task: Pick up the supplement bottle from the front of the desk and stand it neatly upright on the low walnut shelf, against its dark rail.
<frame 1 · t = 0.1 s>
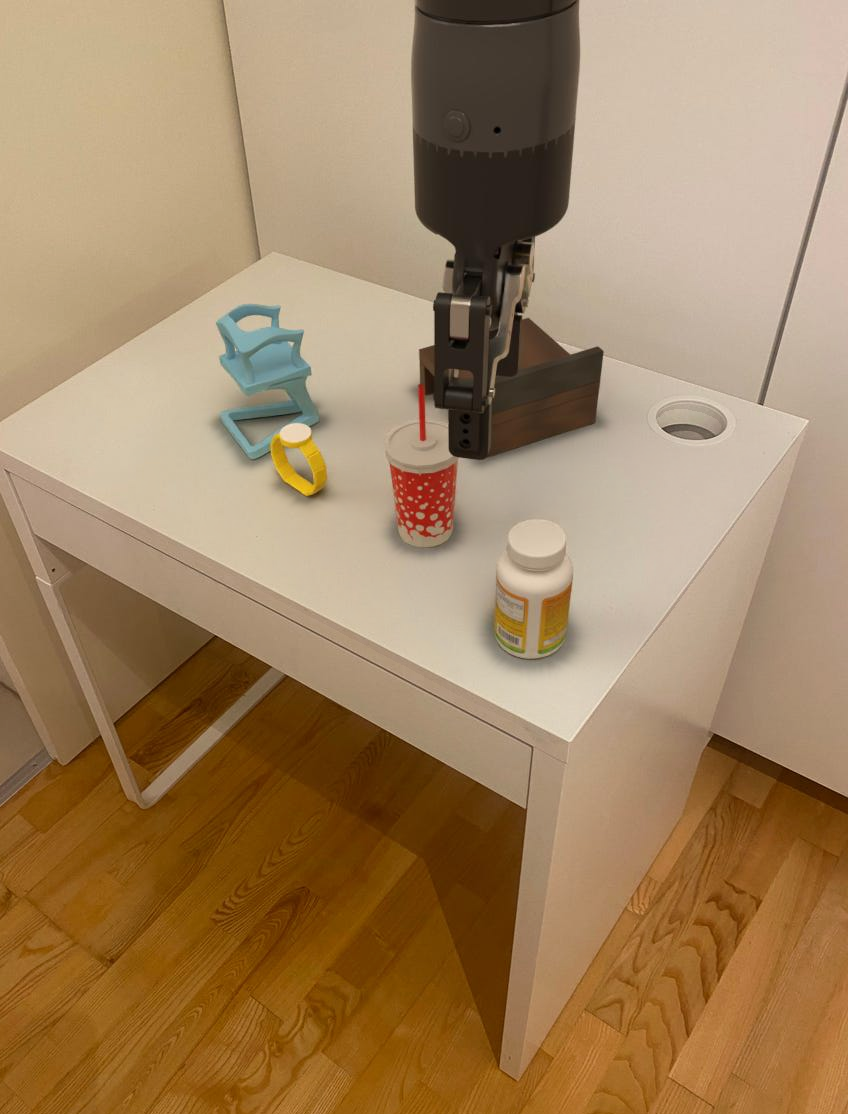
hand: (485, 411, 57), 22 cm above the table, tool pointing down, fingers open, 8 cm apart
watch: (302, 488, 89), on the table
beverage cup: (425, 531, 84), on the table
chair: (275, 428, 95), on the table
supplement bottle: (529, 636, 75), on the table
shelf: (497, 398, 96), on the table
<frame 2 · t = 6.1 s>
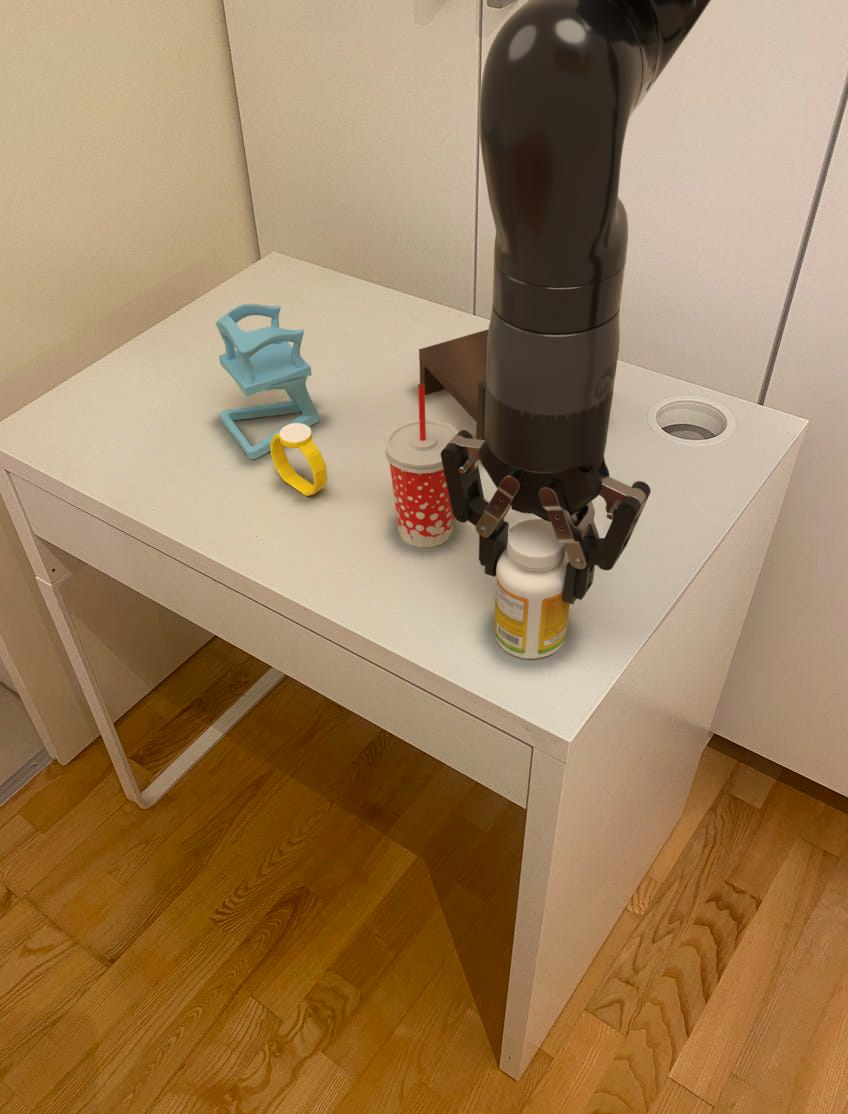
hand: (533, 581, 71), 6 cm above the table, tool pointing down, fingers closed on supplement bottle, 5 cm apart
supplement bottle: (529, 636, 75), on the table, touching gripper
everything else where it was.
when the fingers open (10 cm above the table, at t = 12.8 s): supplement bottle stays where it is, resting on shelf.
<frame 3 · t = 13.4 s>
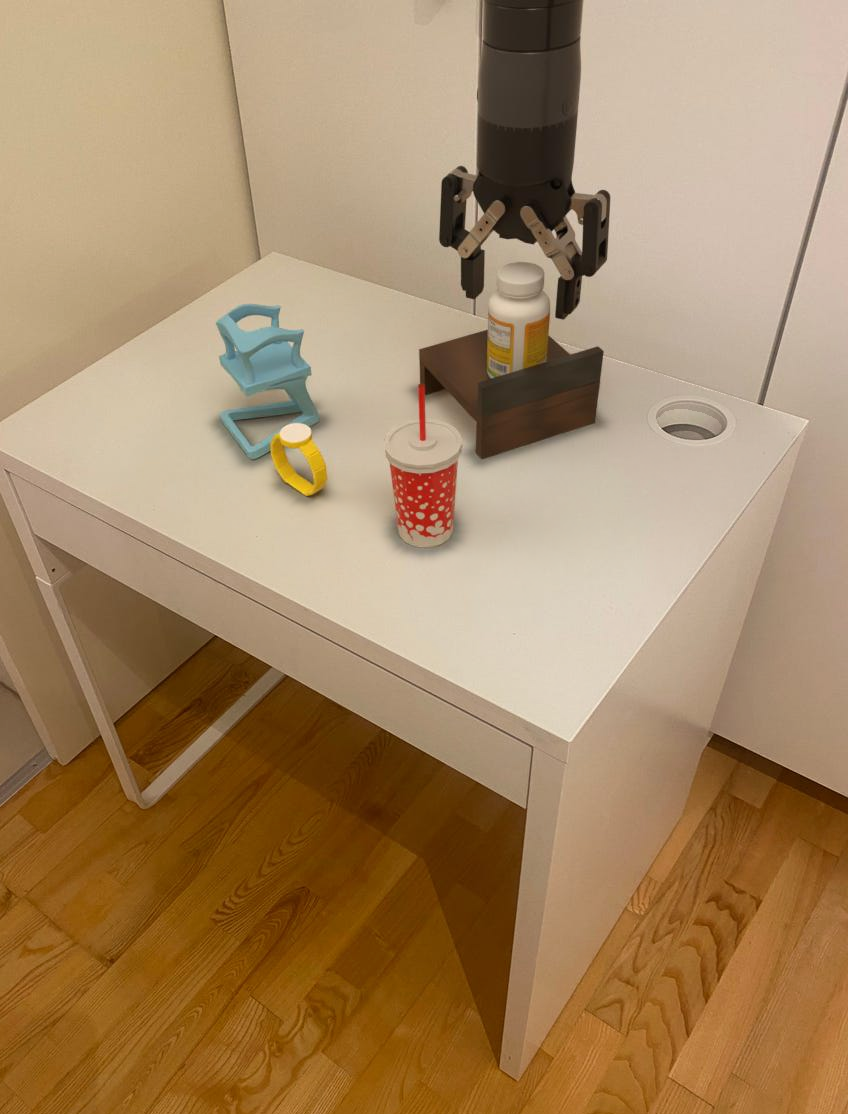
hand: (518, 304, 86), 11 cm above the table, tool pointing down, fingers open, 8 cm apart
supplement bottle: (515, 374, 91), point 4 cm above the table, touching shelf
everything else where it was.
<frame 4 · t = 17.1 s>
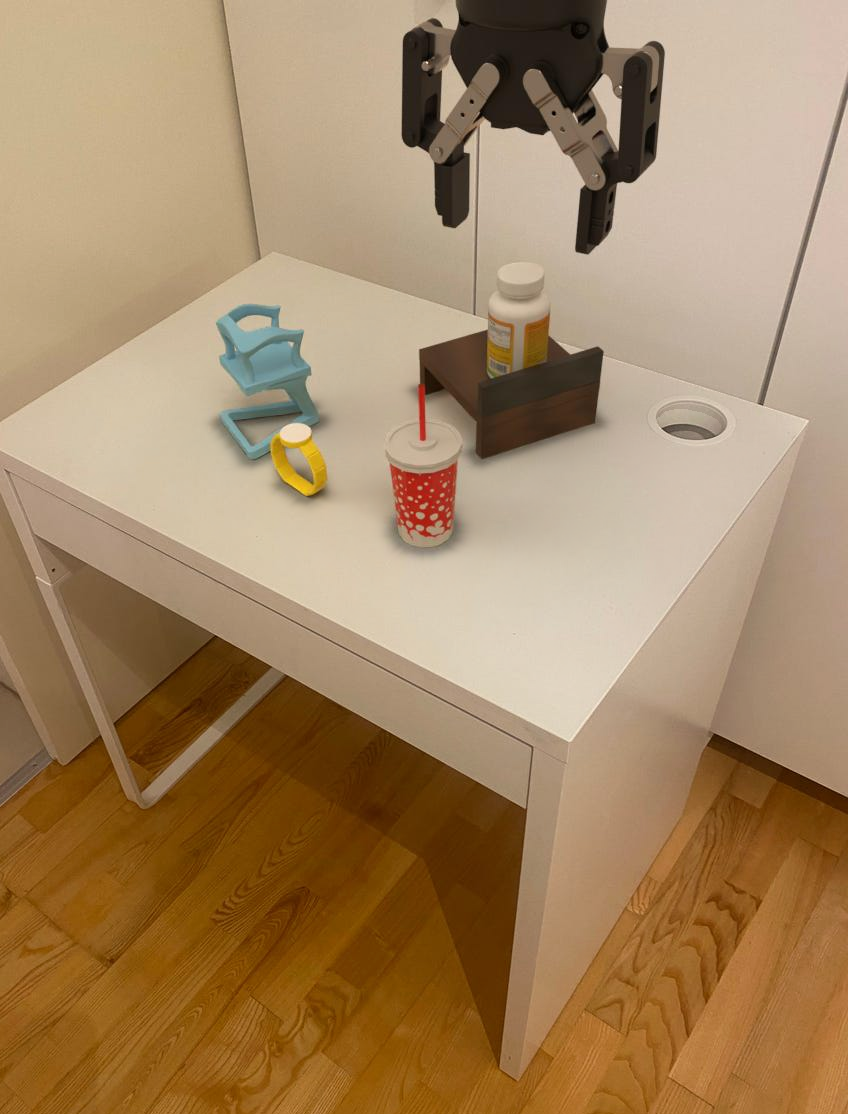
hand: (519, 235, 58), 28 cm above the table, tool pointing down, fingers open, 8 cm apart
nothing on the table moved.
at the end: supplement bottle inside the target area on the shelf (0.1 cm from its centre), point 4.3 cm above the shelf's base; supplement bottle tilted 0° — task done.
